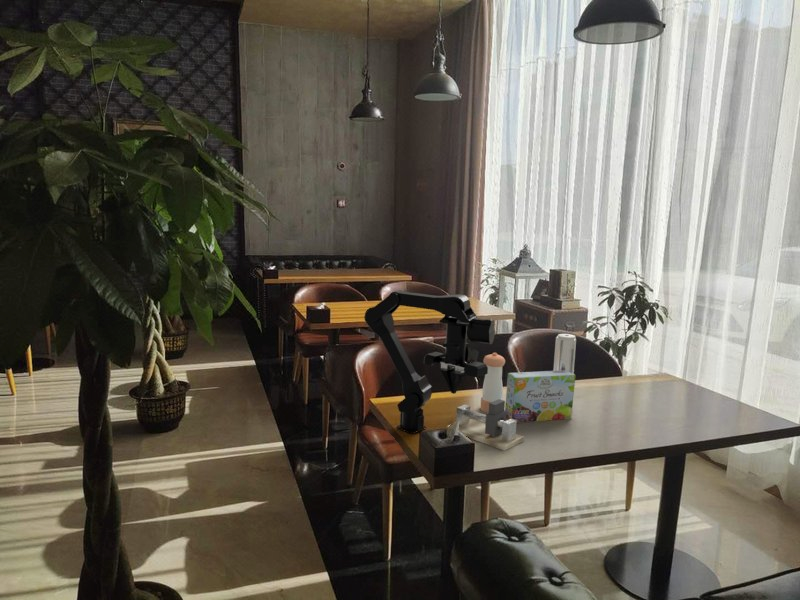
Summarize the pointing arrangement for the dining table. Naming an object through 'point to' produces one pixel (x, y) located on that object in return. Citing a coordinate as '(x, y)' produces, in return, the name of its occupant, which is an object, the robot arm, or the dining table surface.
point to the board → (478, 433)
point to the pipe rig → (466, 413)
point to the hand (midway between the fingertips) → (453, 393)
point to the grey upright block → (495, 417)
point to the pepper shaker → (492, 380)
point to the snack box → (539, 396)
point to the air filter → (565, 352)
